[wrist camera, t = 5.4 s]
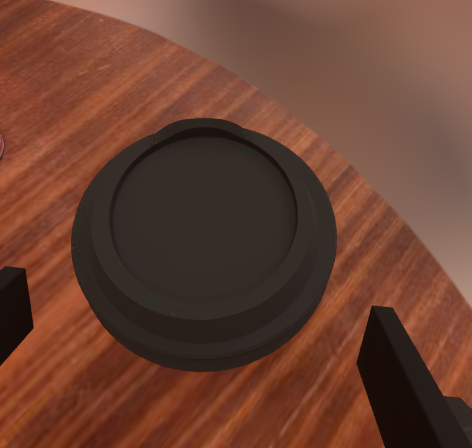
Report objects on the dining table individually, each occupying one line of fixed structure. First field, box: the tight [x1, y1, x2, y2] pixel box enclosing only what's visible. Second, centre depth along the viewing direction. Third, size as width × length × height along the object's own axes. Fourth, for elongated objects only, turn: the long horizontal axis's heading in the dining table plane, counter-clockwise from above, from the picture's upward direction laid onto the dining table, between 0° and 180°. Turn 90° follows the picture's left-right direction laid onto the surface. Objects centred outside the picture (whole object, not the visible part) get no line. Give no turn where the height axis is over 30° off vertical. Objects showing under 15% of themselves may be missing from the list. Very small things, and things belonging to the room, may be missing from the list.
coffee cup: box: [71, 118, 337, 372], centre depth 18 cm, size 9×9×15 cm
